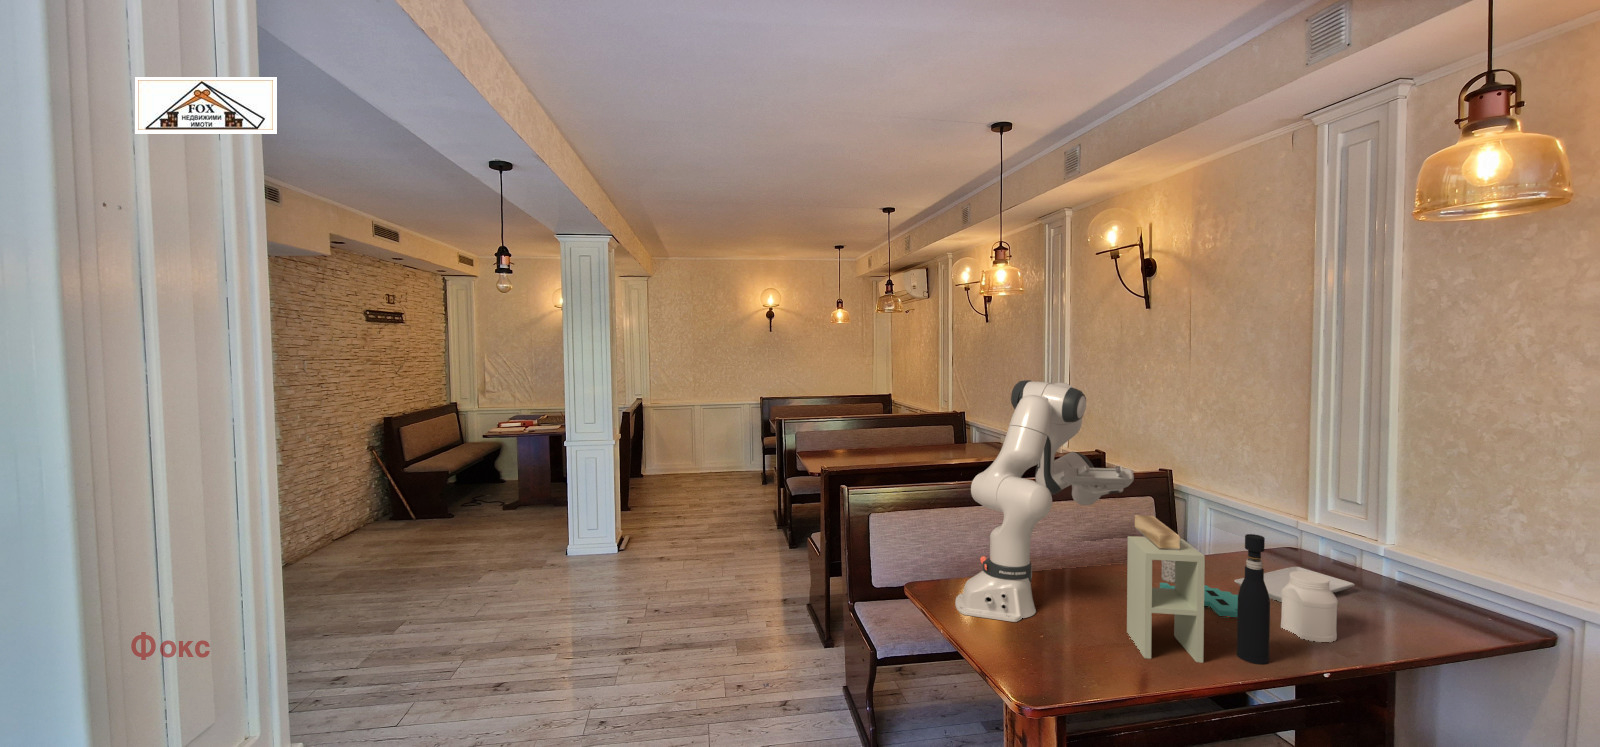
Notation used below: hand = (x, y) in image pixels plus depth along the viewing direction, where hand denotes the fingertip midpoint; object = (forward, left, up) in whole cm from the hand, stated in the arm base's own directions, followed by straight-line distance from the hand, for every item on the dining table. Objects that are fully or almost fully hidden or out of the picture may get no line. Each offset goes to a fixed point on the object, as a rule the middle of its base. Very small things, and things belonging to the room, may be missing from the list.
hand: (1103, 468), depth 197 cm
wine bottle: (+24, -40, -39) cm, 60 cm away
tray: (+57, +9, -39) cm, 70 cm away
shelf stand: (+5, -37, -38) cm, 54 cm away
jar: (+45, -22, -39) cm, 63 cm away
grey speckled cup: (+25, +15, -39) cm, 48 cm away
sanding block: (+5, -31, -12) cm, 34 cm away
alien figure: (+28, -5, -39) cm, 48 cm away
